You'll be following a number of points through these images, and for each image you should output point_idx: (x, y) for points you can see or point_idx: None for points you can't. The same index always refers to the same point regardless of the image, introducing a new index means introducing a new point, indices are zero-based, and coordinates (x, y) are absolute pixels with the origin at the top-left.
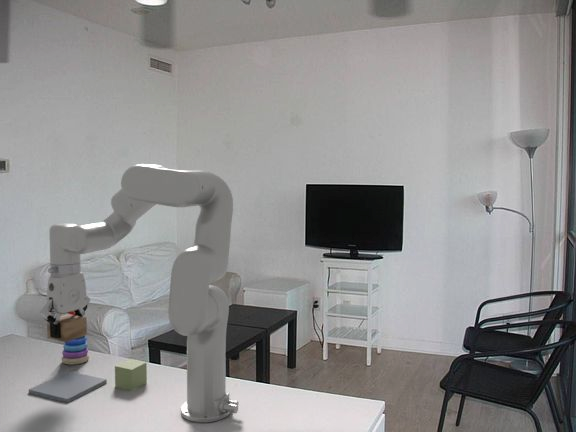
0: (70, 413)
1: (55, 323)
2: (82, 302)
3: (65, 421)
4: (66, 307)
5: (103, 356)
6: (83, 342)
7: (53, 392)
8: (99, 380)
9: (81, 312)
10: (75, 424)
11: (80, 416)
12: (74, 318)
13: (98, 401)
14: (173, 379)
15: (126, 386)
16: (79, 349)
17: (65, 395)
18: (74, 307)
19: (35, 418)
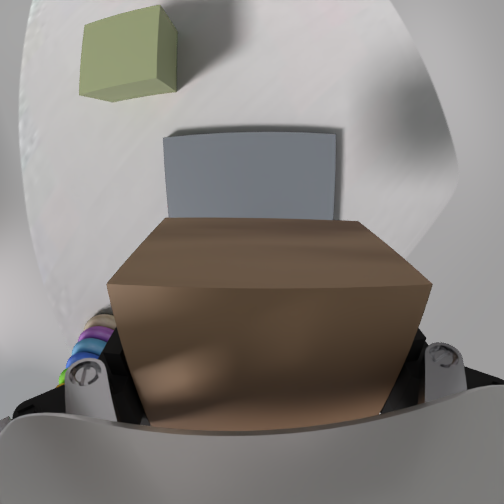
0: (372, 83)
1: (451, 346)
2: (55, 494)
3: (404, 69)
4: (486, 458)
5: (58, 301)
6: (84, 352)
7: (317, 209)
8: (180, 151)
9: (100, 390)
10: (401, 40)
11: (371, 50)
12: (228, 358)
13: (283, 60)
14: (75, 14)
15: (174, 47)
16: (104, 343)
17: (319, 158)
18: (291, 478)
19: (421, 148)
